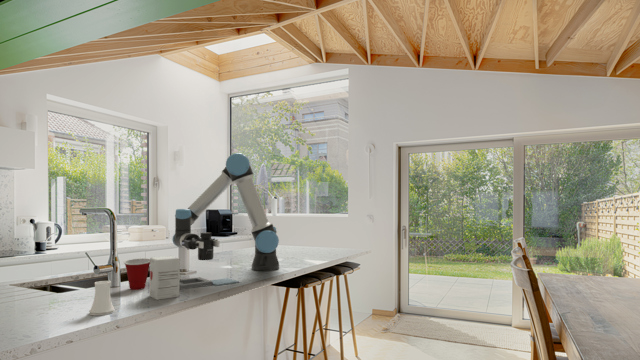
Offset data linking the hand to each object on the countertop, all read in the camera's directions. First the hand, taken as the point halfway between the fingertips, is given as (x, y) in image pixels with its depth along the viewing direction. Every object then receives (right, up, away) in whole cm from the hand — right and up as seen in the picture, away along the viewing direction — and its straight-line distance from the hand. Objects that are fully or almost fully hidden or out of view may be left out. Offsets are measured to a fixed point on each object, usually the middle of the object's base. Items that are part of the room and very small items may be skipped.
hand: (210, 244), depth 182 cm
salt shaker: (-24, -15, -46) cm, 54 cm away
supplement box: (-12, -17, -23) cm, 31 cm away
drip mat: (+4, -18, +5) cm, 19 cm away
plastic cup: (-29, -18, -8) cm, 35 cm away
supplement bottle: (-3, -7, +3) cm, 9 cm away
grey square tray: (-9, -18, +1) cm, 20 cm away
